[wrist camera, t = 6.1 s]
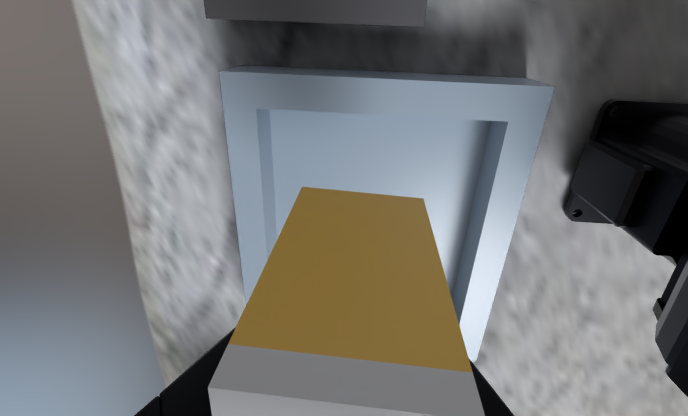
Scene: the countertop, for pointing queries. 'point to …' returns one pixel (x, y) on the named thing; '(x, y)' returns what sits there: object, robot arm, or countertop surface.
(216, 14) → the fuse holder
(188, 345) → the countertop surface
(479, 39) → the countertop surface
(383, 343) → the yellow and white block
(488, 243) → the parts tray
